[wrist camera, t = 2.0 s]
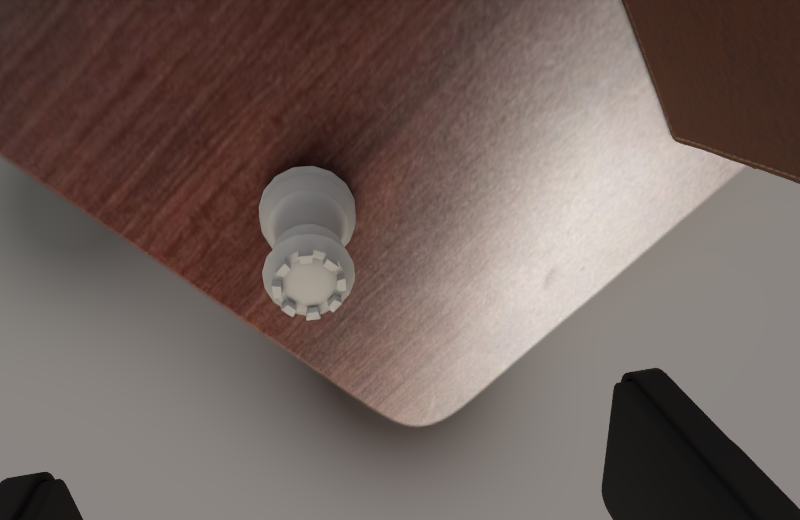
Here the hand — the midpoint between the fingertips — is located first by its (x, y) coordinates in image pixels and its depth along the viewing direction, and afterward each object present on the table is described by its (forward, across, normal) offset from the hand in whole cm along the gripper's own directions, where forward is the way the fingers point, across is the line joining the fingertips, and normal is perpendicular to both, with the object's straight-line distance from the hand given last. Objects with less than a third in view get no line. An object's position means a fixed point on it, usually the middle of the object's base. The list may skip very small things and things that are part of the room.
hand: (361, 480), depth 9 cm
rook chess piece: (+18, +1, +1) cm, 18 cm away
